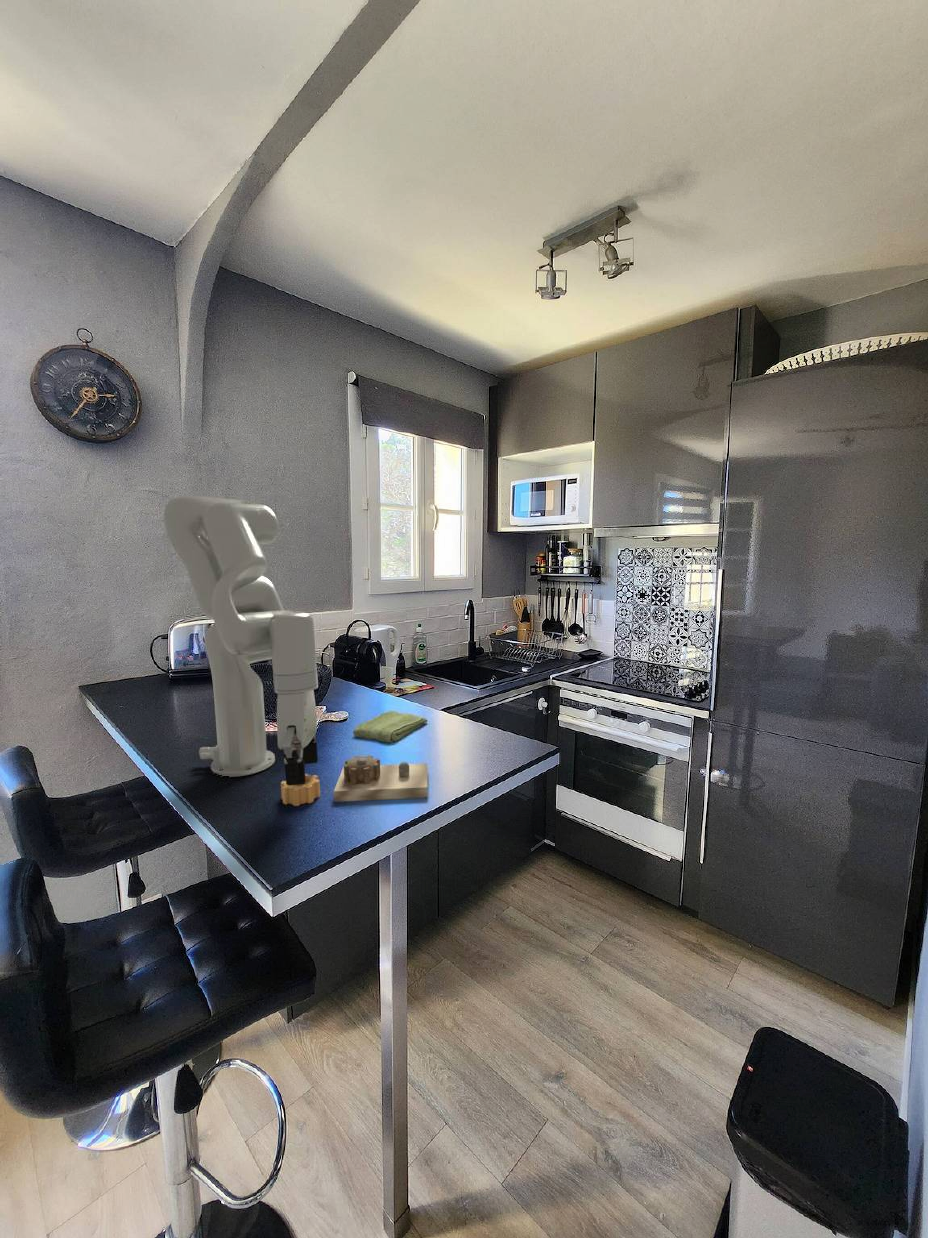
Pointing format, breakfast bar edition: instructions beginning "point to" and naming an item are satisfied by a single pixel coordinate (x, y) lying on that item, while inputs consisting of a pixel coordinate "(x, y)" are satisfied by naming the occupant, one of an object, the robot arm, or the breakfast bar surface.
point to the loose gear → (301, 791)
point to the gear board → (380, 780)
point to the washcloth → (389, 726)
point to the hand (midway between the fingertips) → (303, 773)
